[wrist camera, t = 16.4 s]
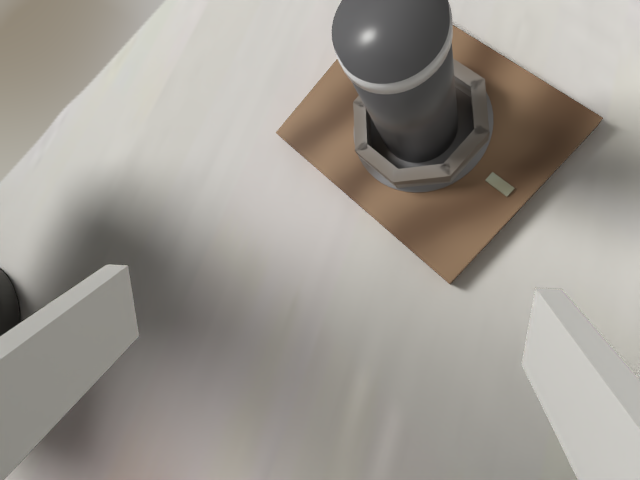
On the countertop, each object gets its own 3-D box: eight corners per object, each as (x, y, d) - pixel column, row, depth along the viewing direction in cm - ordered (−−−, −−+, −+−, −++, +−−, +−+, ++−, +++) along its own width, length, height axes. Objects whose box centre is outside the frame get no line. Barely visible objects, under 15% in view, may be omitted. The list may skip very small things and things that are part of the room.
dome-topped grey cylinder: (365, 134, 37) (307, 40, 24) (415, 76, 37) (383, -54, 23) (422, 179, 35) (392, 102, 22) (476, 117, 34) (479, 0, 21)
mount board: (281, 137, 41) (266, 124, 38) (397, -2, 40) (391, -27, 37) (450, 284, 35) (447, 281, 32) (598, 124, 33) (611, 106, 30)
